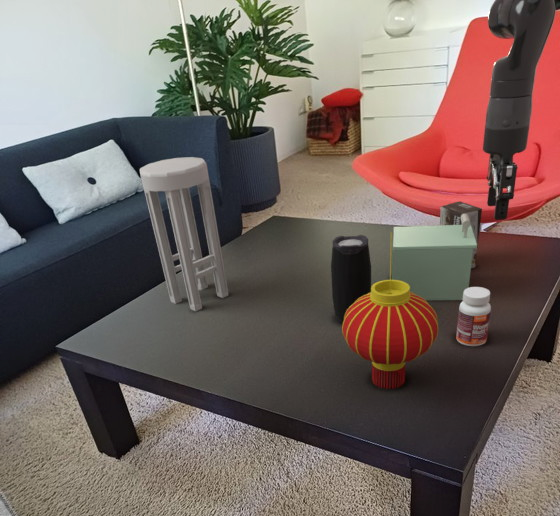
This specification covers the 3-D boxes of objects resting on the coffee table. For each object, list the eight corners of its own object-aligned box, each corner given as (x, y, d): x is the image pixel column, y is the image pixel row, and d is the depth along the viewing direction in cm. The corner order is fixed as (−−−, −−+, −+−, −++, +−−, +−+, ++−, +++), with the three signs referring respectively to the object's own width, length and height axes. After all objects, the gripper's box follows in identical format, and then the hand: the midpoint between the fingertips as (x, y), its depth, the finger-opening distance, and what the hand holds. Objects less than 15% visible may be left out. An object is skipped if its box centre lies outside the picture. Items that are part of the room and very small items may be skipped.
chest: (461, 277, 137) (467, 227, 130) (467, 301, 126) (473, 248, 119) (392, 278, 141) (393, 230, 133) (391, 301, 130) (392, 250, 122)
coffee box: (476, 268, 141) (483, 208, 132) (456, 273, 139) (462, 213, 130) (455, 257, 148) (460, 200, 139) (435, 262, 147) (440, 205, 138)
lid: (470, 227, 129) (472, 207, 127) (476, 248, 118) (479, 226, 116) (393, 229, 133) (394, 210, 131) (392, 250, 122) (393, 229, 119)
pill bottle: (474, 351, 108) (480, 301, 102) (449, 340, 112) (454, 292, 106) (492, 340, 111) (499, 291, 105) (468, 330, 115) (473, 282, 109)
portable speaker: (358, 332, 119) (357, 250, 108) (325, 322, 125) (320, 243, 114) (378, 316, 124) (379, 236, 113) (346, 307, 130) (343, 230, 119)
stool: (160, 302, 143) (126, 169, 123) (204, 282, 151) (179, 154, 132) (194, 318, 133) (163, 175, 114) (239, 295, 141) (218, 159, 122)
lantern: (394, 348, 112) (399, 208, 95) (453, 387, 99) (469, 232, 82) (327, 375, 106) (319, 231, 89) (380, 420, 93) (382, 261, 76)
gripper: (539, 128, 88) (524, 223, 97) (521, 114, 99) (509, 200, 109) (491, 132, 89) (481, 225, 99) (479, 118, 101) (471, 202, 110)
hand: (496, 212), depth 104 cm, fingers open, 8 cm apart
